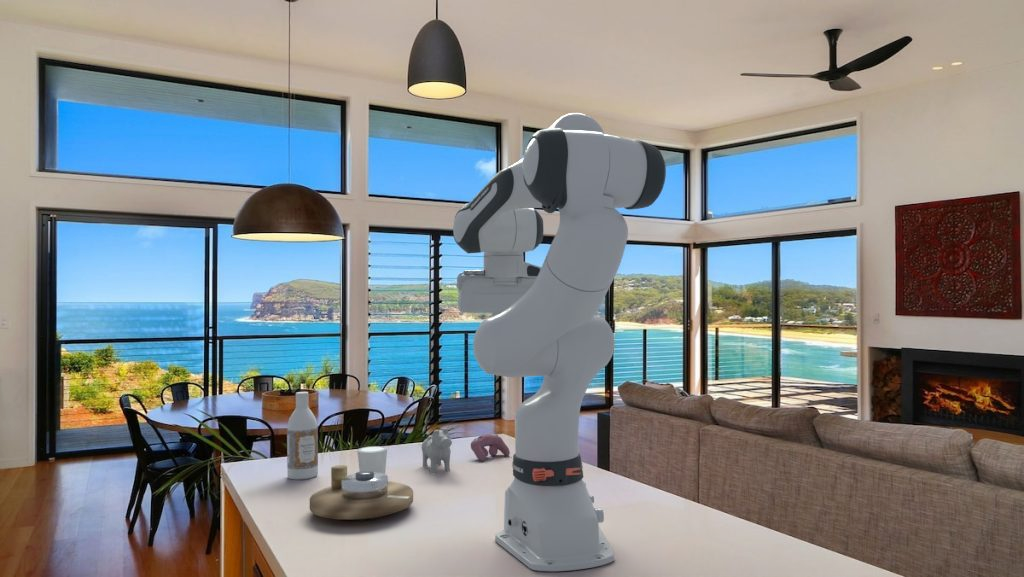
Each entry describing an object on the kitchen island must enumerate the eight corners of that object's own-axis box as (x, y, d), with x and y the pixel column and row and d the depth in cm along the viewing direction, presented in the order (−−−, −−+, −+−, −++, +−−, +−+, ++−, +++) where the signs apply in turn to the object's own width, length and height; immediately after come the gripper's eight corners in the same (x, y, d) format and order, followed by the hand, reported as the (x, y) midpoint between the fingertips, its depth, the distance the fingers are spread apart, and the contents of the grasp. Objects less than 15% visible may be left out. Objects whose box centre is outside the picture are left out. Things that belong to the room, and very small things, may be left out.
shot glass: (380, 483, 152) (380, 452, 152) (352, 482, 153) (352, 451, 153) (392, 475, 159) (391, 446, 159) (365, 474, 160) (364, 445, 160)
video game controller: (502, 459, 179) (495, 434, 182) (512, 454, 176) (504, 429, 179) (473, 465, 173) (465, 439, 175) (482, 460, 170) (475, 434, 172)
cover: (395, 488, 136) (395, 468, 136) (374, 501, 127) (373, 480, 127) (356, 485, 139) (356, 466, 139) (332, 498, 130) (332, 477, 130)
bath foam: (292, 482, 154) (292, 395, 154) (283, 475, 159) (282, 392, 160) (322, 477, 158) (321, 392, 158) (312, 471, 164) (311, 389, 164)
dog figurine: (436, 477, 156) (436, 431, 157) (419, 465, 168) (418, 423, 168) (457, 474, 159) (457, 429, 159) (438, 462, 170) (438, 421, 170)
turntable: (428, 491, 139) (427, 464, 139) (386, 523, 120) (386, 491, 120) (341, 486, 144) (341, 460, 144) (288, 515, 125) (288, 485, 125)
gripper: (459, 269, 140) (460, 335, 140) (551, 269, 146) (552, 332, 145) (454, 270, 147) (455, 333, 146) (543, 270, 152) (544, 331, 151)
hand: (504, 333), depth 146 cm, fingers closed
